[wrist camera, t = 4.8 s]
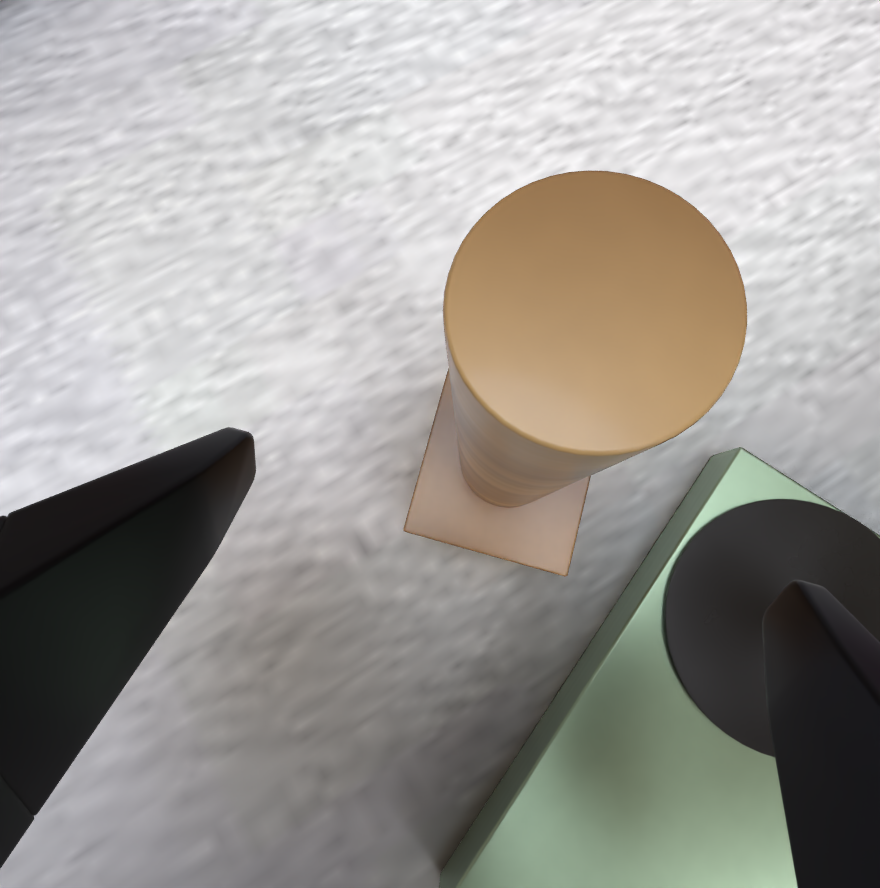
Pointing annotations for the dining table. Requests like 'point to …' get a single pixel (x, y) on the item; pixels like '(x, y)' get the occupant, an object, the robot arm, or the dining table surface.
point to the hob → (675, 706)
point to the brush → (571, 356)
